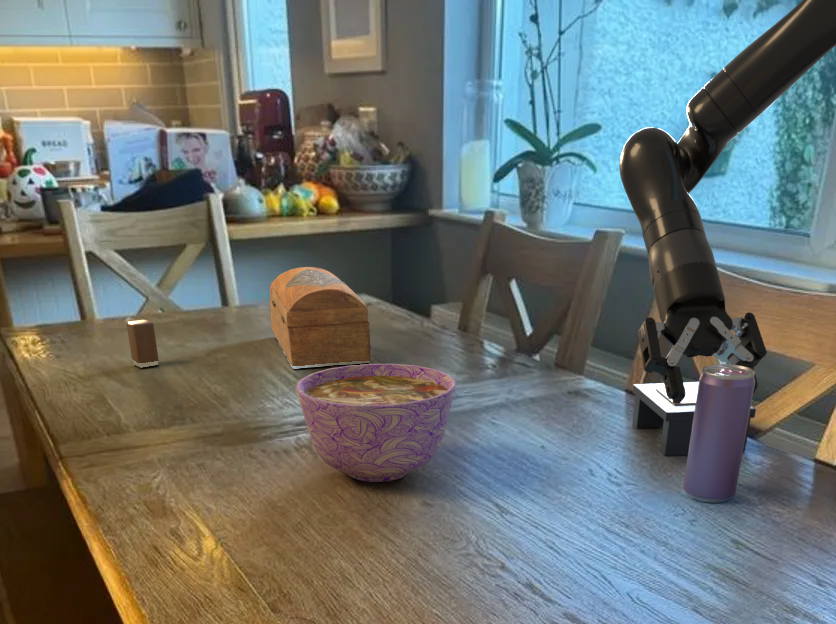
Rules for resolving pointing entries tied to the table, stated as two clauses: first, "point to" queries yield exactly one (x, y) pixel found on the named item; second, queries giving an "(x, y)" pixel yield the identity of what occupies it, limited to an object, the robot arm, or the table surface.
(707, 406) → the beverage can
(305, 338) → the wooden box
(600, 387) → the table surface
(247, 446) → the table surface
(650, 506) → the table surface
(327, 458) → the bowl of food
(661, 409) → the dark footstool
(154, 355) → the wooden block
